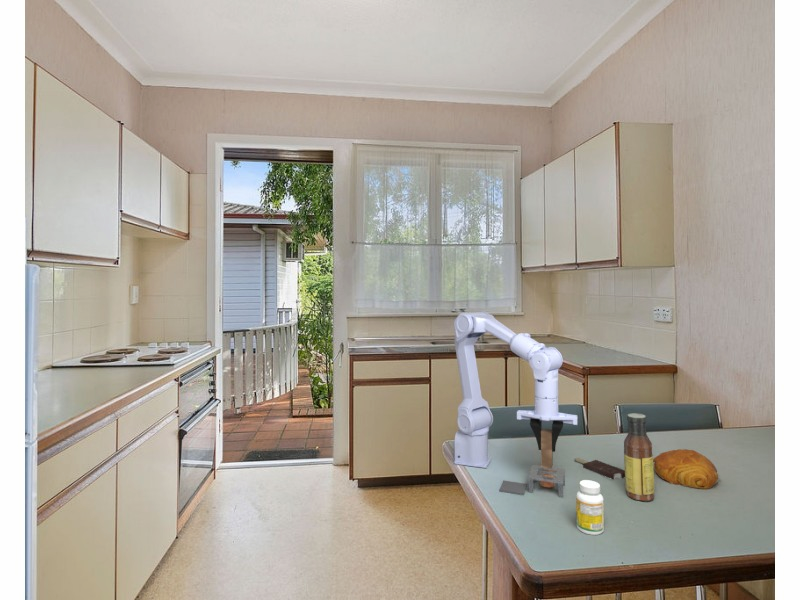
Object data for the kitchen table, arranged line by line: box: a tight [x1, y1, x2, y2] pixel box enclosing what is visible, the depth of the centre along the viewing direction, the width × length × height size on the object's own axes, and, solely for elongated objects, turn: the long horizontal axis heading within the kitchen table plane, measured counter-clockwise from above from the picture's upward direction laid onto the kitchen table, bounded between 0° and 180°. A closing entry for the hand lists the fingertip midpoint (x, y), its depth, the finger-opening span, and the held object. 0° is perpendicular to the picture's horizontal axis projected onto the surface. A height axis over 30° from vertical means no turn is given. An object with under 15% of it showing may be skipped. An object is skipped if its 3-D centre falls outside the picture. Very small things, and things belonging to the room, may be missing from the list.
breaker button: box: [539, 473, 555, 488], centre depth 115 cm, size 3×3×2 cm
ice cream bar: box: [574, 457, 625, 480], centre depth 127 cm, size 5×2×15 cm
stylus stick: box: [540, 428, 554, 468], centre depth 115 cm, size 3×3×9 cm
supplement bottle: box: [575, 479, 605, 536], centre depth 96 cm, size 5×5×10 cm
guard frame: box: [528, 464, 566, 499], centre depth 115 cm, size 8×8×4 cm
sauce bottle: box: [623, 412, 655, 502], centre depth 110 cm, size 7×6×20 cm
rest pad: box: [498, 479, 528, 496], centre depth 116 cm, size 6×6×1 cm
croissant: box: [653, 448, 719, 490], centre depth 121 cm, size 14×16×8 cm
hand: (546, 449), depth 115 cm, fingers closed on stylus stick, 3 cm apart
